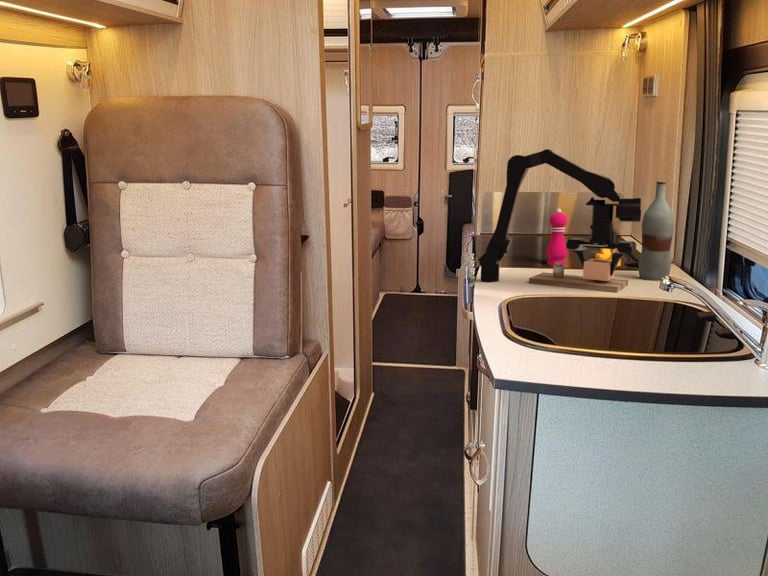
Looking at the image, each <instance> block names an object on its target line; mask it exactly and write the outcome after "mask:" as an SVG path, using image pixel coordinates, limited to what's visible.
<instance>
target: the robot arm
mask: <svg viewBox="0 0 768 576" xmlns="http://www.w3.org/2000/svg"><path fill="white" fill-rule="evenodd" d="M544 164H547V165H549V166H551V167H552V168H554V169H556V170H558V171H560V172H562V173H563V174H565V175H566V176H569V177H570V178H573V179H574V180H576V181H577V182H580V183H581V184H582V185H583V186H584V187H586V188H587V189H588V190H589V191H591V192H592V193H593V194H594V195H595V196H596V197H598V198H600V199H595V198H594V197H593V196H591V197H590V199H589V200H588V201H586V203H585V206H592V207H591V208H592V211H591V224H590V230H591V231H590V239H589V240H586V239H585V238H584V237H571V238H569V239H567V240H566V243H565V245H566V249H567V250H572V252H573V253H576V255H577V257H578V259H579V260H580V264H581V266H582V269H584V261H587V260H589V258H588V255H589V251H590V249H589V248H593V249H601V248H603V249H610V250H612V249H615V252H614V253H612V261H611V269H610V275H611V276H612V275H613V273H614V274H615V270H616V269H617V267H616V266H617V264H618V262H619V260H620V258H621V259H622V257H623V256H626V255H627V254H633V253H635V252H637V243H636V242H635V241H633V240H632V241H630V240H621V241H618V243H617V241H616V240H617V234H618V233H617V232H616V231H615V230H614V224H613V219H614V218H615V219H618V222H620V223H621V222H624V223H627V222H628V223H629V222H630V223H641V218H642V217H641V216H642V209H641V207H642V198H641V197H633V198H627V197H626V198H625V197H623V198H622V197H621V196H620V194H618V193H617V191H616V189H615V188H616V186H615V181H613V179H612V178H610V177H607V176H604V175H601V174H599V173H596V172H592V171H589V170H587V169H585V168H583V167H582V166H579V165H577V164H576V163H575V162H572V161H570V160H568V159H566V158H565V157H564V156H563V157H562V156H561V155H559V154H558V153H556V152H554V151H553V150H551V149H543V150H541V151H538V152H535V153H532V154H527V155H523V154H522V155H521V154H516V155H513V156H511V157H510V158H509V159H508V161H507V165H506V184H505V185H506V186H505V190H504V194H503V199H502V203H501V205H500V211H499V214H498V219H497V222H496V226H495V229H494V231H493V233H492V236H491V237H490V240H489V241H488V244H487V246H486V249H485V252H484V253H483V254H482V255H481V256H480V257H479V258H478V262H479V265H480V282H484V283H497V282H499V281H500V262H501V261H502V259H503V258H505V257H506V255H507V254H508V253H509V252H511V245H512V242H513V240H514V239H513V238H512V237H509V232H510V227H511V223H512V218H513V215H514V211H515V208H516V203H517V199H518V195H519V191H520V187H521V185H522V184H523V181H524V180H525V179H526V175H527V174H528V171H529V169H531V168H535V167H539V166H541V165H544ZM606 199H608V201H609V200H610V201H611V202H612V203H611V202H610V203H609V202H606ZM614 207H615V217H614Z"/></svg>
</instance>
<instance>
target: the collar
mask: <svg viewBox="0 0 768 576" xmlns="http://www.w3.org/2000/svg"><path fill="white" fill-rule="evenodd" d="M611 261H612V260H602V259H595V258H590V259H589V258H588V260H587V261H584V269H583V268H582V269H583V271H582V272H583V273H582V274H583V275H582V276H583V279H592V280H602V281H608V280H610V279H614V278H615V272H614V273H613V275H612V276H611V275H610V269H611Z"/></svg>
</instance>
